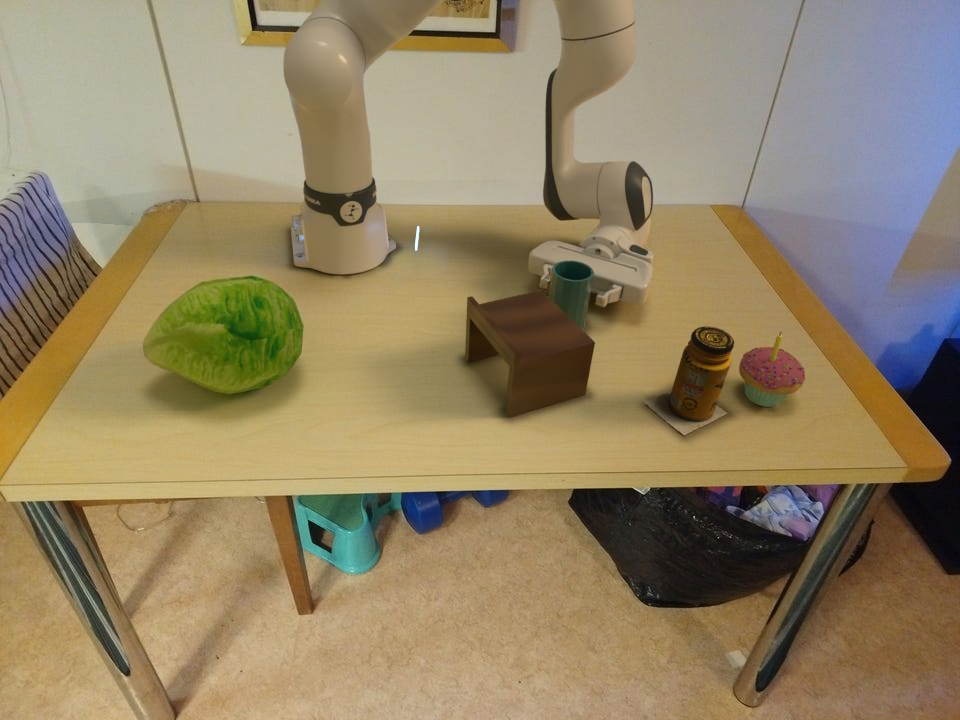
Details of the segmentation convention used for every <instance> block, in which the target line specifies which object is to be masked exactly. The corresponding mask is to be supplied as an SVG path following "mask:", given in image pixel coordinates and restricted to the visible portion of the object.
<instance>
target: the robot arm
mask: <svg viewBox="0 0 960 720" xmlns="http://www.w3.org/2000/svg"><path fill="white" fill-rule="evenodd" d="M444 1H445V0H323V1H321V3H320V4H319V5H318V6H316V8H315V9H314V10H313V11H312V12H311V13H310V14H309V15H308V16H307V17H306V19H304V21H303V23H302V24H301V25H300V26H299V27H298V29H297V30H296V32H295V33H294V34H293V35H292V37H291V38H290V39H289V41H288V43H287V45H286V47H285V49H284V53H283V61H282V64H283V65H282V69H283V79H284V82H285V85H286V88H287V90H288V95H289V98H290V103H291V107H292V113H293V115H294V118H295V122H296V125H297V129H298V130H297V131H298V135H299V140H300V145H301V146H300V148H301V154H302V162H303V169H304V177H305V178H304V181H303V188H302V190H303V198H304V200H303V201H302V202H301V203H300V204H299V211H300V214H293V215H291V223H292V224H291V226H290V234H291V235H290V236H291V246H292V259H293V260H292V261H293V265H294V266H295V267H298V268H308V269H313V270H316V271H319V272H320V273H324V274H331V275H351V274H352V275H353V274H360V273H363V272H367V271H370V270H373V269H375V268H377V267H378V266H380V265H382V263H383V262H384V261H385V259H386V258H387V256H388V255H389V254H390V253H391V252H393V251H395V249H396V248H397V242H396V241H395V240H394V239H393V238H392V237H389V236H388V225H387V217H386V209H385V207H384V206H383V205H381V204H380V203H378V201H377V185H376V179H375V178H374V176H373V163H372V148H371V146H372V145H371V133H370V128H369V123H368V122H369V121H368V114H367V107H366V98H365V89H364V77H365V73H366V72H367V70H368V69H369V68H370V67H371V66H372V65H373V64H374V63H376V61H378V60H379V59H380V58H382V56H384V54H386V53H387V52H388V51H389V50H390V49H392V48H393V47H394V46H395V45H396V44H398V43H399V42H400V41H402V40H403V39H405V38H406V37H407V36H409V35H410V34H411V33H412V32H413V31H415V29H417V27H418V26H420V25H421V24H422V22H423V21H425V19H426V18H428V16H430V14H432V13H433V11H435V10H436V9H437V8H438V7H439V6H440V5H441V4H442V3H443V2H444ZM552 2H553V3H554V4H553V5H554V7H555V10H556V13H557V16H558V17H557V18H558V25H559V26H558V27H559V34H560V42H561V43H560V44H561V48H560V49H561V50H560V51H561V52H560V58H559V61H558V65H557V67H556V68H555V69H553V70H552V71H551V72H550V74H549V76H548V78H547V79H548V80H547V84H546V91H545V109H544V110H545V111H544V112H545V115H544V118H545V119H544V120H545V121H544V125H545V129H544V131H545V134H544V135H545V137H544V138H545V139H544V141H545V144H544V145H545V170H544V178H543V186H542V188H543V189H542V199H543V205H544V206H545V208H546V209H547V210H548V212H549V213H550V214H551V215H552V216H553V217H554V218H556V219H557V220H558V221H560V222H563V221H564V222H565V221H577V220H599V223H598V224H597V226H596V227H594V229H592V231H590V232H589V233H588V235H586V236H585V238H584V239H583V240H581V242H580V243H578V246H577V245H574V244H572V243H571V244H570V243H567V242H565V241H559V240H555V239H551V240H547V241H544V242H542V243H540V244H539V245H537V246H535V247H534V248H533V249H532V250H531V251H530V252H529V254H528V261H527V269H528V271H529V272H530V274H532V275H536V276H539V277H540V280H539V288H542V289H544V290H549V289H550V281H551V273H552V268H553V266H554V264H556V263H558V262H561V261H566V260H567V261H578V262H582V263H585V264H587V265H589V266H590V267H591V268H592V269H593V271H594V277H593V283H592V289H591V293H594V294H597V295H596V296H595V302H594V305H596V306H598V307H602V308H606V306H607V305H608V304H612V303H615V302H618V301H620V302H623V303H626V304H630V305H632V306H641V305H644V303H645V302H646V300H647V297H648V294H649V290H650V287H651V282H652V278H653V273H654V266H655V253H653V252H652V251H650V250H648V249H645V248H644V246H645V245H646V243H647V241H648V239H649V236H650V233H651V228H652V219H651V216H652V212H653V206H654V189H653V183H652V180H651V177H650V176H649V175H648V173H647V172H646V170H645V169H644V167H642V166H641V164H639V163H638V162H637V161H635V160H633V161H631V160H630V161H629V160H627V161H624V160H623V161H622V160H621V161H604V162H603V161H601V162H600V161H599V162H598V161H597V162H596V161H595V162H580V161H579V160H577V159H576V158H575V156H574V151H575V150H574V149H575V148H574V144H575V115H576V112H577V110H578V108H579V106H581V105H583V104H584V103H586V102H588V101H591V100H592V99H594V98H596V97H598V96H599V95H602V94H604V93H605V92H607V91H608V90H610V89H612V88H613V87H615V86H616V85H617V84H618V83H619V82H621V81H622V80H623V79H624V78H625V76H626V75H627V74H628V73H629V71H630V70H631V68H632V66H633V64H634V62H635V60H636V54H637V24H636V13H635V6H634V4H635V3H634V0H552ZM419 234H420V226H419V225H418V226H417V227H416V235H415V242H414V243H415V244H414V250H415V251H418V245H419V237H420V235H419Z"/></svg>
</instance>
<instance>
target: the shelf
mask: <svg viewBox="0 0 960 720" xmlns="http://www.w3.org/2000/svg"><path fill="white" fill-rule="evenodd" d="M465 322H466V323H465V345H464V346H465V347H464V348H465V349H464V359H465V360H466V362H467V363H472V362H476V361H480V360H483V359H487V358H492V357H496V356H500V357H501V358H502V360H504V362H505V363H506V364H507V365H508V367H509V368H508V377H507V378H508V379H507V387H506V390H507V391H506V398H505V399H506V400H505V414H506V415H507V417H508V418H514V417H516V416H520V415H523V414H526V413H529V412H533V411H536V410H540V409H542V408H546V407H550V406H553V405H555V404H559V403H563V402H565V401H569V400H572V399H575V398H579V397H581V396H586V393H587V389H588V384H589V383H588V382H589V377H590V373H591V366H592V361H593V357H594V356H593V355H594V350H595V345H596V342H595V340H594V339H592V338H591V337H590V336H589V335H588V334H587V333H586V332H585V330H584V331H583V330H582V329H581V328H580V327H579V326H578V325H577V324H576V323H575V322H574V321H573V320H572V319H571V318H570V317H569V316H568V315H567V314H566V313H565V312H563V311H562V310H561V309H560V308H559V307H558V306H557V305H556V304H555V303H554V302H553V301H552V300H551V299H550V298H549V295H547V294H546V293H545V292H544V290H542V289H539V290H536V291H531V292H527V293H522V294H518V295H513V296H507V297H504V298H500V299H496V300H493V301H492V300H491V301H486V302H482V303H479V301H477V300H476V299H475V297H474V296H471V295H470V296H467V297H466V321H465Z"/></svg>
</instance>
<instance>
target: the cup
mask: <svg viewBox="0 0 960 720" xmlns="http://www.w3.org/2000/svg"><path fill="white" fill-rule="evenodd" d="M593 277H594V271H593V269H592V268H591V267H590V266H589V265H587V264H585V263H582V262H578V261H567V260H566V261H561V262H558V263H556V264H554V266H553V268H552V273H551V281H550V288H549V289H548V297H549V298H550V299H551V300H552V301H553V302H554V303H555V304H556V305H557V306H558V307H559V308H560V309H561V310H562V311H563V312H565V313H566V314H567V315H568V316H569V317H570V318H571V319H572V320H573V321H574V322H575V323H576V324H577V325H578V326H579V327H580V328H581V329H582V330H583V331H584V332H585V327H586V323H587V317H588V311H589V306H590V301H591V295H592V294H591V293H592V292H591V289H592V283H593Z"/></svg>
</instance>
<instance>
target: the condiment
mask: <svg viewBox="0 0 960 720" xmlns="http://www.w3.org/2000/svg"><path fill="white" fill-rule="evenodd" d="M734 347H735V340H734V338H733V337H732V336H731V335H730V333H728V332H727V331H726V330H724V329H721V328H719V327H716V326H707V325H705V326H699V327H697V328H695V329H694V330H693V331H692V332H691V335H690V340H689V341H688V342H687V345H686V346H684V349H683V351H682V354H681V357H680V361H679V365H678V367H677V371H676V374H675V378H674V381H673V385H672V388H671V390H670V391H668V392H665V393H662V394H660V395H658V396H657V397H654V398H652V399H649V400H647V401H645V402H644V404H645V405H647V406H648V407H649V409H651V410H652V411H653V412H654V413H656V414H657V415H658V416H659V417H660V418H661V419H663V420H664V421H665V422H666V423H667V424H668V425H670V426H671V427H673V428H674V429H675V430H676V431H678V432H679V433H680V434H682V435H683V436H687V435H688V434H690V433H692V432H694V431H696V430H698V429H700V428H701V427H702V428H703V427H704V426H705V425H708V424H710V423H713V422H714V421H716V420H718V419H720V418H722V417H723V416H725V415H727V414H728V412H727V411H726V410H724V409H723V408H721V407H720V406H719V405H717V404H718V401H719V399H720V396H721V393H722V390H723V388H724V384H725V381H726V379H727V376H728V373H729V370H730V367H731V364H732V357H731V356H732V353H733V349H734Z"/></svg>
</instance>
